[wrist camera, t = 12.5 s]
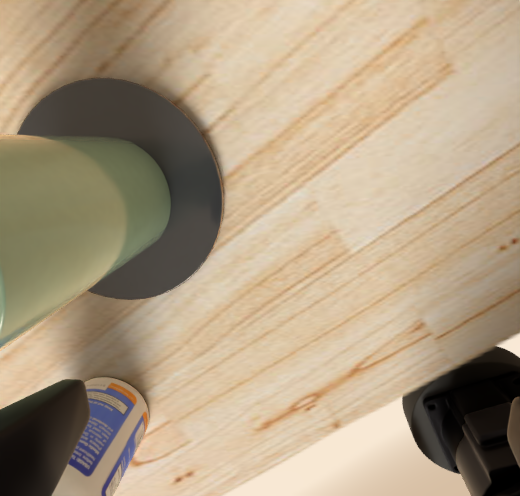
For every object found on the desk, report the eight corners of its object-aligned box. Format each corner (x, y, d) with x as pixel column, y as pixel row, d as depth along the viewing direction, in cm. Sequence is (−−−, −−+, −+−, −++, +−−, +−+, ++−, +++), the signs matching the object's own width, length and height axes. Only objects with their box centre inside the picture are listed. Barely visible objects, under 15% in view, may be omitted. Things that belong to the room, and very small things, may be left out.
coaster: (261, 249, 20) (260, 252, 20) (89, 324, 23) (84, 328, 22) (154, 33, 18) (150, 29, 17) (-26, 144, 20) (-34, 144, 20)
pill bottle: (59, 388, 24) (-88, 540, 15) (125, 363, 23) (9, 511, 14) (101, 449, 26) (-12, 626, 16) (166, 428, 24) (84, 605, 15)
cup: (147, 413, 16) (-170, 346, 5) (16, 407, 17) (-501, 334, 6) (188, 189, 22) (79, -60, 11) (90, 191, 23) (-101, -42, 12)
